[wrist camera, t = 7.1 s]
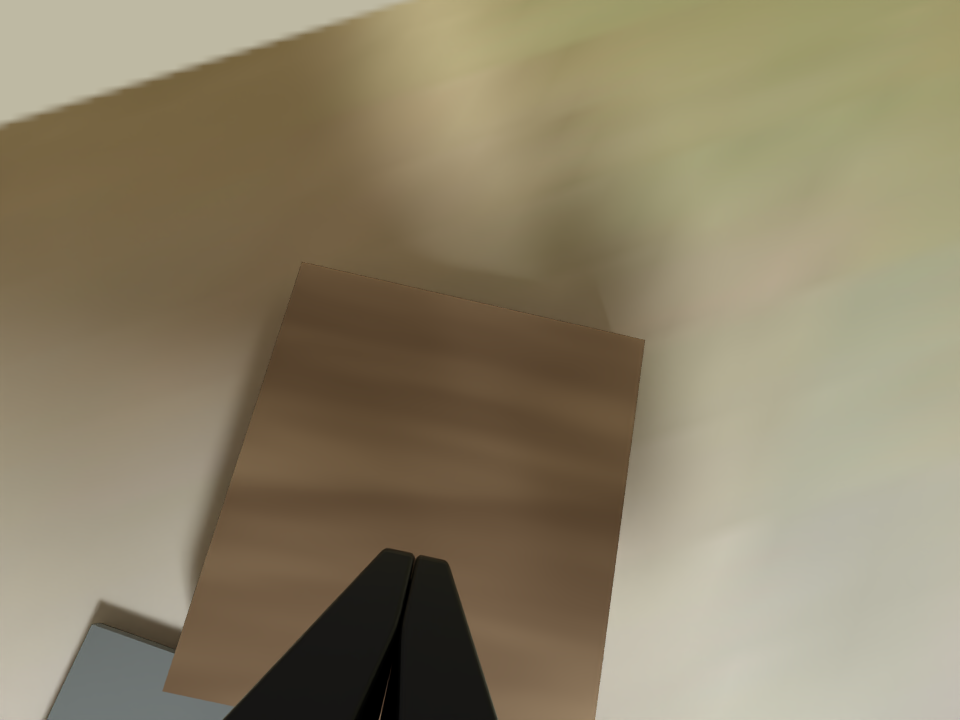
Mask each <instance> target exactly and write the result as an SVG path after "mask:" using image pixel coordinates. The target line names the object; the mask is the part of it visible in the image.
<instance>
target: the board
mask: <svg viewBox="0 0 960 720" xmlns="http://www.w3.org/2000/svg"><path fill="white" fill-rule="evenodd" d="M644 343H645V340H642V339H638V338H633V337H629V336H625V335H620V334H616V333H612V332H607V331H603V330H598V329H594V328H590V327H585V326H581V325H576V324H572V323H568V322H563V321H559V320H555V319H550V318H546V317H541V316H537V315H533V314H528V313H524V312H519V311H515V310H511V309H506V308H502V307H498V306H493V305H489V304H484V303H480V302H476V301H471V300H467V299H462V298H458V297H454V296H449V295H445V294H440V293H436V292H432V291H427V290H423V289H419V288H414V287H410V286H405V285H401V284H397V283H392V282H388V281H383V280H379V279H375V278H370V277H366V276H362V275H357V274H353V273H348V272H344V271H340V270H335V269H331V268H326V267H322V266H318V265H313V264H309V263H305V262H302V264H301V267H300V270H299V273H298V276H297V279H296V282H295V285H294V288H293V291H292V294H291V297H290V300H289V303H288V307H287V310H286V313H285V316H284V319H283V322H282V325H281V328H280V331H279V334H278V337H277V340H276V343H275V346H274V350H273V353H272V356H271V359H270V362H269V365H268V368H267V371H266V374H265V377H264V380H263V383H262V386H261V389H260V393H259V396H258V399H257V402H256V405H255V408H254V411H253V414H252V417H251V420H250V423H249V426H248V429H247V432H246V436H245V439H244V442H243V445H242V448H241V451H240V454H239V457H238V460H237V463H236V466H235V469H234V472H233V475H232V479H231V482H230V485H229V488H228V491H227V494H226V497H225V500H224V503H223V506H222V509H221V512H220V515H219V518H218V521H217V525H216V528H215V531H214V534H213V537H212V540H211V543H210V546H209V549H208V552H207V555H206V558H205V561H204V564H203V568H202V571H201V574H200V577H199V580H198V583H197V586H196V589H195V592H194V595H193V598H192V601H191V604H190V607H189V611H188V614H187V617H186V620H185V623H184V626H183V629H182V632H181V635H180V638H179V641H178V644H177V647H176V650H175V654H174V657H173V660H172V663H171V666H170V669H169V672H168V675H167V678H166V681H165V684H164V687H163V690H162V691H163V692H167V693H172V694H177V695H182V696H186V697H191V698H196V699H201V700H205V701H210V702H215V703H220V704H224V705H229V706H234V707H235V706H236V705H237V703H238V702H239V701H240V700H241V699H242V698H243V697H244V696H245V695H246V694H247V693H248V692H249V691H250V690H251V689H252V688H253V686H254V685H255V684H256V683H257V682H258V681H259V680H260V679H261V678H262V677H263V676H264V675H265V674H266V673H267V672H268V671H269V669H270V668H271V667H272V666H273V665H274V664H275V663H276V662H277V661H278V660H279V659H280V658H281V657H282V656H283V655H284V654H285V653H286V651H287V650H288V649H289V648H290V647H291V646H292V645H293V644H294V643H295V642H296V641H297V640H298V639H299V638H300V637H301V636H302V634H303V633H304V632H305V631H306V630H307V629H308V628H309V627H310V626H311V625H312V624H313V623H314V622H315V621H316V620H317V619H318V618H319V616H320V615H321V614H322V613H323V612H324V611H325V610H326V609H327V608H328V607H329V606H330V605H331V604H332V603H333V602H334V601H335V599H336V598H337V597H338V596H339V595H340V594H341V593H342V592H343V591H344V590H345V589H346V588H347V587H348V586H349V585H350V584H351V583H352V581H353V580H354V579H355V578H356V577H357V576H358V575H359V574H360V573H361V572H362V571H363V570H364V569H365V568H366V567H367V566H368V564H369V563H370V562H371V561H372V560H373V559H374V558H375V557H376V556H377V555H378V554H379V553H380V552H381V551H382V550H383V549H385V548H392V549H396V550H401V551H406V552H410V553H413V554H414V556H415V560H416V558H417V557H418V556H419V555H424V556H429V557H434V558H438V559H443V560H446V561H447V562H448V564H449V566H450V569H451V572H452V575H453V578H454V581H455V584H456V588H457V591H458V594H459V597H460V600H461V603H462V607H463V610H464V613H465V616H466V619H467V622H468V626H469V629H470V632H471V635H472V638H473V641H474V645H475V648H476V651H477V654H478V657H479V660H480V664H481V667H482V670H483V673H484V676H485V679H486V683H487V686H488V689H489V692H490V695H491V699H492V702H493V705H494V708H495V711H496V714H497V718H498V720H595V715H596V707H597V700H598V692H599V685H600V677H601V669H602V662H603V654H604V647H605V639H606V632H607V624H608V616H609V609H610V601H611V594H612V586H613V578H614V571H615V563H616V556H617V548H618V540H619V533H620V525H621V518H622V510H623V503H624V495H625V487H626V480H627V472H628V465H629V457H630V449H631V442H632V434H633V427H634V419H635V411H636V404H637V396H638V389H639V381H640V374H641V366H642V358H643V351H644ZM414 563H415V562H414ZM413 568H414V567H413ZM412 572H413V571H412ZM387 684H388V683H387ZM386 689H387V688H386ZM385 693H386V692H385ZM384 698H385V697H384ZM383 703H384V701H383ZM382 707H383V705H382ZM381 712H382V710H381ZM380 717H381V714H380ZM379 720H380V718H379Z"/></svg>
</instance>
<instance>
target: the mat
mask: <svg viewBox="0 0 960 720" xmlns="http://www.w3.org/2000/svg"><path fill="white" fill-rule="evenodd" d="M174 654H175V649H172V648H169V647H166V646H164V645H161V644H158V643H155V642H152V641H149V640H147V639H144V638H141V637H138V636H135V635H133V634H130V633H127V632H124V631H121V630H118V629H116V628H113V627H110V626H107V625H104V624H102V623H97V624H92V625H91V627H90V629H89V632H88V634H87V636H86V638H85V640H84V642H83V644H82V646H81V648H80V651H79V653H78V655H77V657H76V659H75V661H74V663H73V665H72V667H71V669H70V672H69V674H68V676H67V678H66V680H65V682H64V684H63V686H62V688H61V691H60V693H59V695H58V697H57V699H56V701H55V703H54V705H53V707H52V710H51V712H50V714H49V716H48V718H47V720H222V719H223V718H224V717H225V716H226V715H227V714H228V713H229V712H230V711H231V710H232V709H233V708H234V706H229V705H224V704H220V703H215V702H210V701H205V700H201V699H196V698H191V697H186V696H182V695H177V694H172V693H167V692H163V691H162V690H163V687H164V684H165V681H166V678H167V675H168V672H169V669H170V666H171V663H172V660H173V657H174Z"/></svg>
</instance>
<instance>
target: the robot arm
mask: <svg viewBox="0 0 960 720" xmlns="http://www.w3.org/2000/svg"><path fill="white" fill-rule="evenodd" d="M414 562H415V563H414ZM413 567H414V568H413ZM412 571H413V572H412ZM387 683H388V684H387ZM386 688H387V689H386ZM385 692H386V693H385ZM384 697H385V698H384ZM383 701H384V703H383ZM382 705H383V707H382ZM381 710H382V712H381ZM380 714H381V717H380ZM379 718H380V720H498V718H497V714H496V711H495V708H494V705H493V702H492V699H491V695H490V692H489V689H488V686H487V683H486V679H485V676H484V673H483V670H482V667H481V664H480V660H479V657H478V654H477V651H476V648H475V645H474V641H473V638H472V635H471V632H470V629H469V626H468V622H467V619H466V616H465V613H464V610H463V607H462V603H461V600H460V597H459V594H458V591H457V588H456V584H455V581H454V578H453V575H452V572H451V569H450V566H449V564H448V562H447V561H446V560H443V559H438V558H434V557H429V556H424V555H419V556H418V557H417V558H416V560H415V556H414V554H413V553H410V552H406V551H401V550H396V549H392V548H385V549H383V550H382V551H381V552H380V553H379V554H378V555H377V556H376V557H375V558H374V559H373V560H372V561H371V562H370V563H369V564H368V566H367V567H366V568H365V569H364V570H363V571H362V572H361V573H360V574H359V575H358V576H357V577H356V578H355V579H354V580H353V581H352V583H351V584H350V585H349V586H348V587H347V588H346V589H345V590H344V591H343V592H342V593H341V594H340V595H339V596H338V597H337V598H336V599H335V601H334V602H333V603H332V604H331V605H330V606H329V607H328V608H327V609H326V610H325V611H324V612H323V613H322V614H321V615H320V616H319V618H318V619H317V620H316V621H315V622H314V623H313V624H312V625H311V626H310V627H309V628H308V629H307V630H306V631H305V632H304V633H303V634H302V636H301V637H300V638H299V639H298V640H297V641H296V642H295V643H294V644H293V645H292V646H291V647H290V648H289V649H288V650H287V651H286V653H285V654H284V655H283V656H282V657H281V658H280V659H279V660H278V661H277V662H276V663H275V664H274V665H273V666H272V667H271V668H270V669H269V671H268V672H267V673H266V674H265V675H264V676H263V677H262V678H261V679H260V680H259V681H258V682H257V683H256V684H255V685H254V686H253V688H252V689H251V690H250V691H249V692H248V693H247V694H246V695H245V696H244V697H243V698H242V699H241V700H240V701H239V702H238V703H237V705H236V706H235V707H234V708H233V709H232V710H231V711H230V712H229V713H228V714H227V715H226V716H225V717H224V718H223V719H222V720H379Z"/></svg>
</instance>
